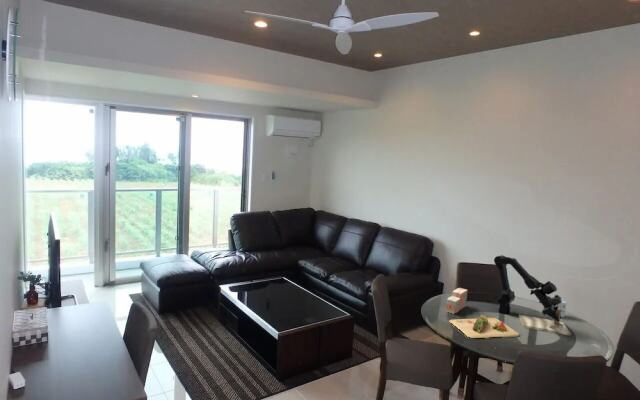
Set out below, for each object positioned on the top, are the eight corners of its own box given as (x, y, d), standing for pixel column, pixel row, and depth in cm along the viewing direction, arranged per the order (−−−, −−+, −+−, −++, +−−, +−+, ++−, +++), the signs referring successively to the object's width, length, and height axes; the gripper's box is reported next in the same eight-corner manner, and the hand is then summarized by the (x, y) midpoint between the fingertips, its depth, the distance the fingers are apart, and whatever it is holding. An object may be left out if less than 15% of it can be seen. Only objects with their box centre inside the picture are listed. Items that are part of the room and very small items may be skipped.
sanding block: (549, 328, 243) (551, 310, 242) (551, 324, 248) (554, 307, 247) (560, 331, 239) (562, 313, 238) (562, 328, 244) (565, 310, 243)
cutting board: (495, 320, 256) (496, 309, 254) (520, 337, 233) (522, 325, 232) (447, 322, 248) (448, 311, 247) (469, 340, 225) (470, 328, 224)
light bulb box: (559, 313, 272) (562, 298, 270) (564, 317, 265) (567, 302, 264) (544, 312, 273) (546, 297, 271) (548, 316, 266) (550, 301, 265)
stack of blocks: (454, 314, 259) (456, 297, 257) (445, 311, 263) (447, 294, 261) (465, 306, 275) (467, 289, 273) (457, 303, 279) (459, 287, 277)
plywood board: (523, 327, 245) (524, 325, 245) (518, 316, 262) (519, 314, 261) (570, 335, 238) (570, 333, 238) (562, 324, 254) (562, 322, 254)
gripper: (550, 295, 237) (568, 318, 231) (557, 288, 250) (574, 310, 244) (534, 303, 243) (552, 326, 237) (542, 296, 257) (558, 317, 251)
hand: (559, 319), depth 242 cm, fingers open, 5 cm apart
